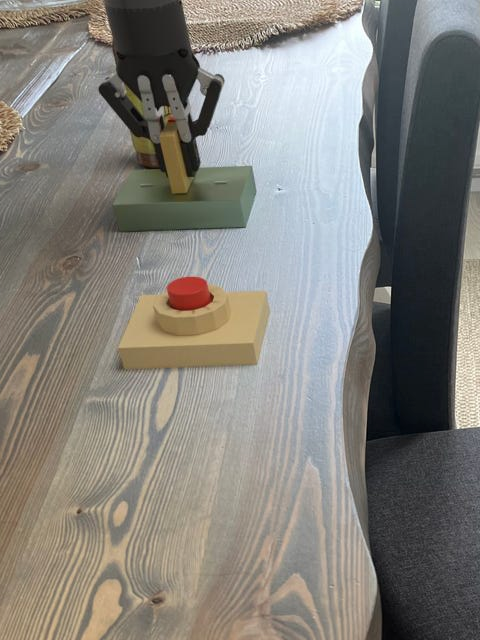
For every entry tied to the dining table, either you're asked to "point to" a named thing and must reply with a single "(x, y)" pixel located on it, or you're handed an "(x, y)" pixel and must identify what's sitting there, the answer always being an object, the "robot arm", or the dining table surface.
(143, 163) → the sauce bottle
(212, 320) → the block
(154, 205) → the plate
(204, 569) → the dining table surface
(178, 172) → the handle
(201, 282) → the button
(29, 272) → the dining table surface
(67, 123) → the dining table surface
